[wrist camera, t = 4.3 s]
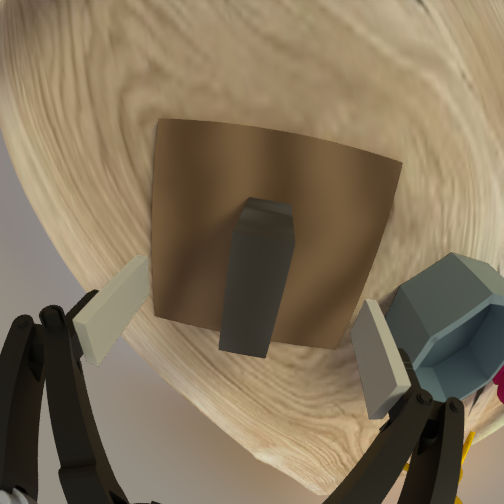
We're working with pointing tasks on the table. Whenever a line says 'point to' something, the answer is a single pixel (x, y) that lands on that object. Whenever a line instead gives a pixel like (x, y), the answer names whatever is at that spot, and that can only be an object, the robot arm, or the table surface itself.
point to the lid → (264, 232)
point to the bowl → (451, 325)
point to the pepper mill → (500, 383)
